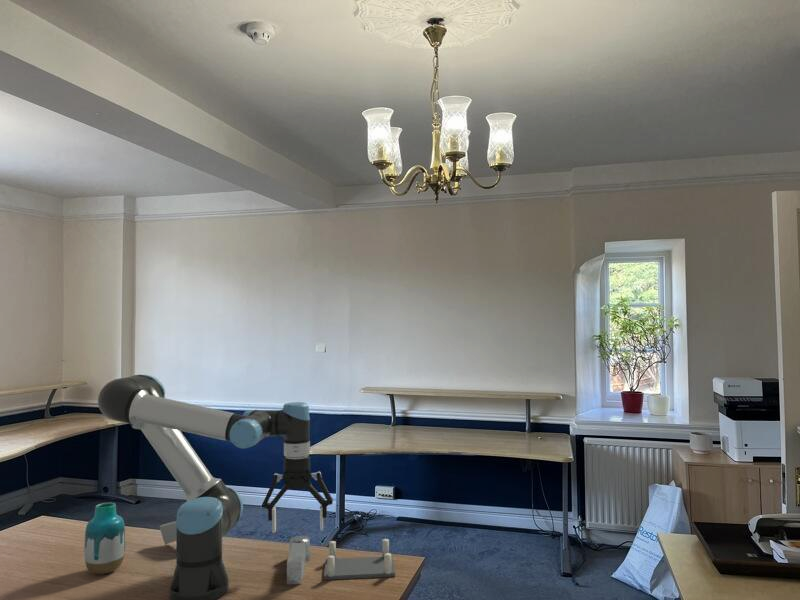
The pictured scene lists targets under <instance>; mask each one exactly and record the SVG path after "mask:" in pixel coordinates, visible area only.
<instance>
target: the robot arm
mask: <svg viewBox="0 0 800 600" xmlns="http://www.w3.org/2000/svg"><path fill="white" fill-rule="evenodd" d="M97 396H98V397H97V405H98V408H99V409H98V410H100V412H101V413H102V415H103V416H105V417H106V418H107V419H109V420H111V421H114V422H115V421H116V422H119V423H126V424H129V425H130V426H131V428H133V429H135V430H139V431H140V430H141V432H142V433H143V435H144V436H145V438H146V440H148V442H149V444H150V445H151V446H152V447H153V449H154V450H155V453H157V455H158V457H160V459H161V461H162V463H164V465H165V467H166V468H167V469H168V471H169V472H170V474H171V476H172V477H173V478H174V480H175V481H176V482H177V483H178V485H179V487H180V488H181V489H182V491H183V492H184V494H185V495H186V502H184V503H183V504H181V505H180V506H179V508H178V510H177V513H176V520H175V521H176V541H175V542H176V543H175V545H176V562H175V563H176V565H175V569H174V570H173V571H174V572H173V576H172V578H171V581H170V583H169V588H168V597H169V600H217V599H219V598H221V597H222V596H224V595H225V594H226V593H227V592H228V591H229V588H230V587H229V585H230V584H229V582H230V580H229V576H228V573H227V570H226V567H225V563H224V561H223V537H224V536H225V535H226V534H228V532H229V531H230V530H231V529H233V528H234V527H235V526H236V525H237V523H238V522H239V520H240V519H241V517H242V515H243V510H244V503H243V498H242V496H241V495H240V493H239V492H238V491H237V490H236V489H234V488H232V487H228V486H226V484H225V483H224V481H223V480H222V478H216V477H214V476H213V475H212V474H211V473H210V471H209V469H208V468H207V467H206V465H205V464H204V462H203V461H202V460H201V458H200V457H199V455H198V454H197V452H196V451H195V449H194V448H193V447H192V446H191V445H192V444H190V442H189V440H188V439H187V438H186V436H185V435H184V434H183V432H185V433H190V434H193V435H199V436H202V437H208V438H212V439H215V440H221V441H226V442H229V443H231V444H233V446H235V447H237V448H239V449H249V448H251V447H254V446H255V445H257V444H258V443H259V442H260V441H262V440H263V439H265V438H266V437H283V456H284V458H283V474H280V473H278V472H275V473H274V474H273V475H272V482H271V485H270V486H269V489H268V492H267V493H266V495H265V498H264V499H263V501H262V503H261V507H262V508H263V509H267V511H268V512H267V513H268V514H267V519H268V521H271V522H272V523H271V527H272V529H271V530H272V531H271V532H272V534H275V533H276V531H277V507H276V504H277V503H278V502H279V501H280V499H281V498H282V497H283V495H284V494H286V492H287V491H288V490H289V489H290V490H293V491H294V490H303V489H305V490H307V491H308V492H309V493H310V495H312V496H313V498H314V499H315V500H316V501H317V502H318V503H319V504H320V505H319V532H323V531H324V519H326V518H327V516H328V512H327V511H328V509H327V508H328V506H330V505H333V501H334V499H333V497H332V495H331V494H330V491H329V490H328V488H327V486H326V483H325V482H324V480H323V475H322V472H321V471H320V470H318V471H317V472H311V456H310V454H311V438H310V433H311V432H310V431H311V430H310V428H311V427H310V425H311V424H310V423H311V422H310V421H311V417H310V407H309V405H308V403H306V402H302V401H296V402H295V401H294V402H293V401H292V402H291V401H290V402H286V403H284V404H283V407H282V409H274V410H273V409H272V410H270V409H263V410H262V409H260V410H259V409H254V410H246V411H244V412H243V414H240V413H239V414H237V413H233V412H230V411H225V410H220V409H216V408H212V407H211V408H210V407H207V406H203V405H199V404H198V405H197V404H194V403H188V402H185V401H181V400H180V401H179V400H174V399H171V398H166V391H165V387H164V385H163V383H162V382H161V381H160V380H159V379H158V378H156V377H155V376H152V375H148V374H135V375H130V376H127V377H121V378H116V379H113V380H110V381H109V382H107V383H106V384H104V386H102V388H101V390H100V391H99V394H98V395H97ZM312 478H313V479H314V481H317V484H318V487H319V488H320V490H321V492H322V493H323V496H324V497H325V498H324V497H323V496H322V495H321V494H320V492H318V490H317V489H316V488H315V487H314V486H313V484H312V482H311V480H312ZM281 480H282V481H283V482H284V483H285V484H284V485H283V486H282V488H281V489H280V490H279V491H278V492H277V494H276V495H275V496H274V498H273V499H272V500H271V501H270V498H271V496H272V494H273V492H274V490H275V488H276V486H277V484H278V483H279V482H281ZM269 501H270V502H269Z"/></svg>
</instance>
